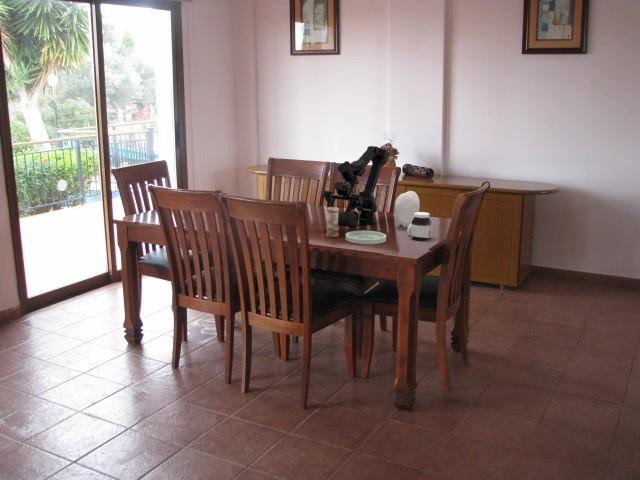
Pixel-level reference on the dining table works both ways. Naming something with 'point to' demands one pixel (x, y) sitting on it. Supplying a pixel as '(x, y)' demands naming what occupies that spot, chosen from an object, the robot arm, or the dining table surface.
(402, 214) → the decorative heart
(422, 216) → the spread jar
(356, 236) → the round tray
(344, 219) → the drinking cup
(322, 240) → the dining table surface
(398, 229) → the dining table surface
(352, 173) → the robot arm
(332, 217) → the bead tower
